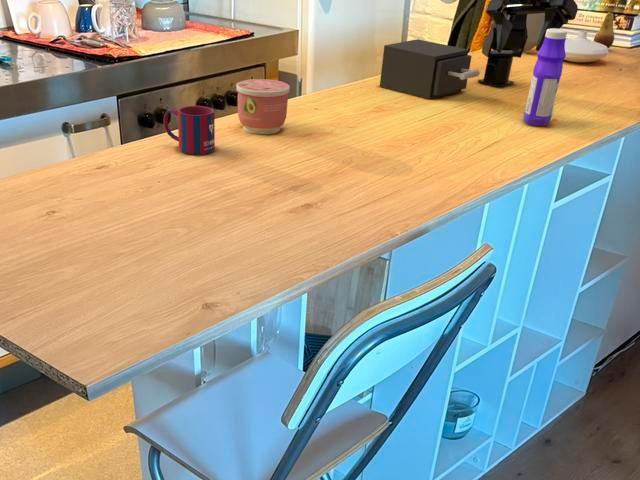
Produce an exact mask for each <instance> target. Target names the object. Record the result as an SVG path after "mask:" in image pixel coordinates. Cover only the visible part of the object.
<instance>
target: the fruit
mask: <svg viewBox="0 0 640 480" xmlns="http://www.w3.org/2000/svg"><path fill="white" fill-rule="evenodd" d="M616 6H617V3H615V4H614V5H613V7H612V9H611V10H610V11H608V12H607V13H606V14H605V17H604V19H603V21H602V24H601V26H600V28H599V30H598V31H597V33H595V36H594V38H593V41H595V42H597V43H600V44H603V45H605V46H607V48H608V49H609V48H611V47H612V46H613V43H614V42H615V32H614V13H613V10H614V8H615V7H616Z"/></svg>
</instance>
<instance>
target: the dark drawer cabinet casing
mask: <svg viewBox="0 0 640 480" xmlns="http://www.w3.org/2000/svg"><path fill="white" fill-rule="evenodd" d="M465 55H469V49H467V48H462V47H458V46H453V45H448V44H444V43H438V42H435V41H434V42H433V41H428V40H423V39H419V38H418V39H411V40H405V41H401V42H400V41H399V42H395V43H390V44H385V45H384V46H383V54H382V63H381V73H380V80H379V88H383V89H386V90H391V91H395V92H399V93H401V94H402V93H403V94H407V95H410V96H415V97H418V98H422V99H426V100H431V99H437V98H440V97H443V96H444V97H445V96H448V95H452V94H456V93H460V92H462V90H458V91H454V92H450V93H446V94H442V95H438V96H436V95H433V85H434V78H435V72H436V65H437V60H441V59H446V58H451V57H456V56H465Z"/></svg>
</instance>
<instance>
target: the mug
mask: <svg viewBox="0 0 640 480" xmlns="http://www.w3.org/2000/svg"><path fill="white" fill-rule="evenodd" d="M170 113H172V114H174V115H175V116H177V128H178V129H177V131H178V132H177V133H178V135H175V133H173V132H172V131H171V129H170V127H169V123H168V118H169V114H170ZM215 115H216V113H215V109H214V108H212V107H209V106H204V105H186V106H182V107H180V108H178V109H174V108H173V109H172V108H171V109H168V110H166V111H165V113H164V115H163V126H164V129H165V130H164V131H165V133H167V135H168V136H169V137H170V138H172V140H174V141H176V142H178V150H179V152H181V153H183V154H186V155H193V156H202V155H208V154H211V153H213V152H214V151H215V146H216V144H215V143H216V141H215V136H216V135H215V134H216V133H215V127H216V126H215V124H216V123H215V121H216V120H215V117H216V116H215Z"/></svg>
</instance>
